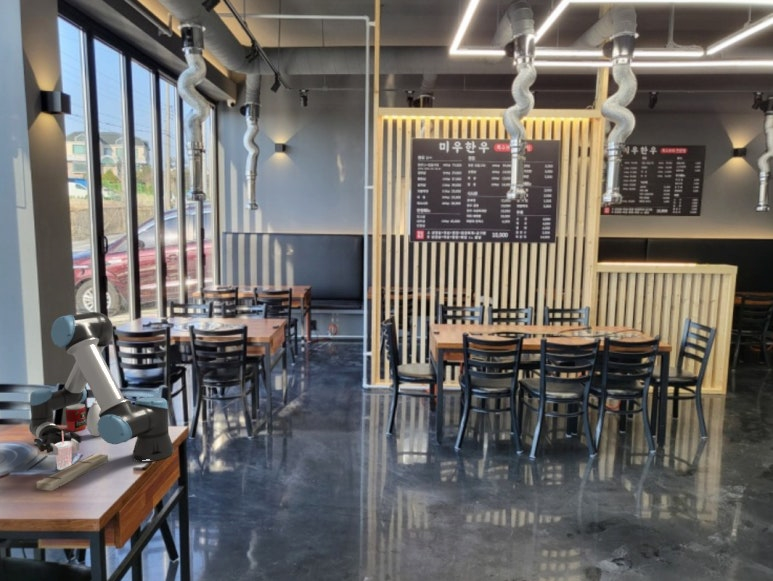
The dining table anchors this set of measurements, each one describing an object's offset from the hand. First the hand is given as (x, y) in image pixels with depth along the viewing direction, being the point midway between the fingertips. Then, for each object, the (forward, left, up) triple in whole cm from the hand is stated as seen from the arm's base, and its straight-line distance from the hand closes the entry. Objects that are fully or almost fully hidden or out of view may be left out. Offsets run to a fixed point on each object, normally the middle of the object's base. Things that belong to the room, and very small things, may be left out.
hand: (67, 448), depth 194 cm
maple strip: (-3, 0, -9) cm, 10 cm away
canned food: (+36, -41, -10) cm, 55 cm away
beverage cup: (+4, -3, -9) cm, 10 cm away
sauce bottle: (+20, -36, -9) cm, 42 cm away
